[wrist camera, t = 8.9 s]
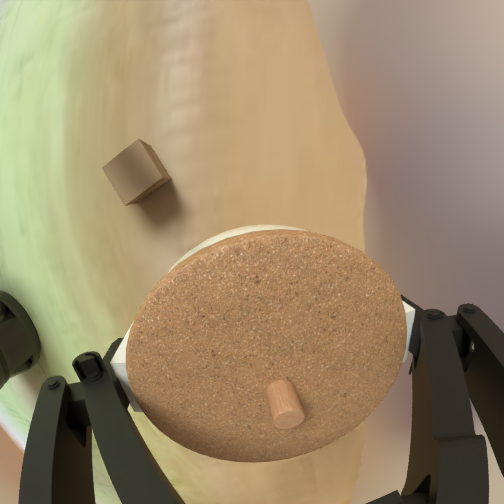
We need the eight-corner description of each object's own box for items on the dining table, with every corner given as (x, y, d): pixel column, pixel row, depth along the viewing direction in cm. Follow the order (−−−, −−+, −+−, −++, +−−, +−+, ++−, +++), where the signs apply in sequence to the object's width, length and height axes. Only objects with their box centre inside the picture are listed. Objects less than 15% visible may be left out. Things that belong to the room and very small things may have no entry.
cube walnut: (138, 202, 30) (124, 205, 26) (118, 169, 29) (102, 167, 24) (171, 178, 30) (162, 177, 25) (150, 145, 29) (138, 138, 24)
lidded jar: (284, 387, 18) (320, 493, 9) (140, 335, 16) (92, 449, 7) (365, 259, 16) (473, 323, 7) (210, 176, 14) (193, 156, 5)
